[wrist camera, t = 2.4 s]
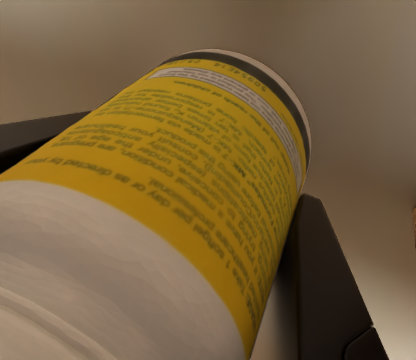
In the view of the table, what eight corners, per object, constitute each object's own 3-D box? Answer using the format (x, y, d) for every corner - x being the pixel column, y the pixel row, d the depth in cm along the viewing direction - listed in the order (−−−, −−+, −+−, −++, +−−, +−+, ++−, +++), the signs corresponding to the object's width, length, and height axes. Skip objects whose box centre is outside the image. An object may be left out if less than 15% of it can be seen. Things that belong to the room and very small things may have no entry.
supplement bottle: (147, 20, 9) (-403, 271, 3) (344, 77, 8) (210, 632, 2) (136, 179, 12) (-149, 485, 6) (282, 234, 11) (145, 669, 5)
